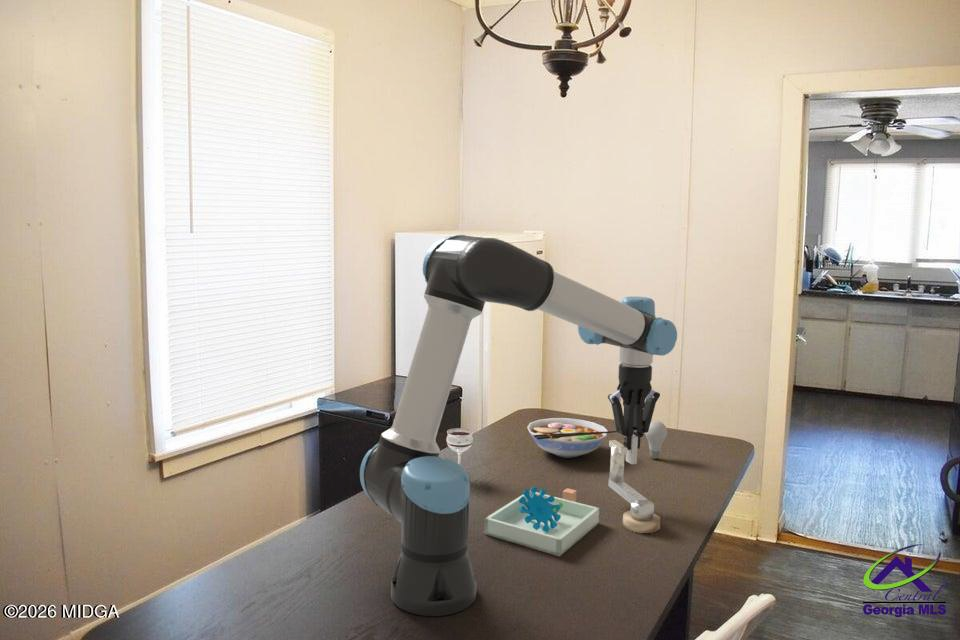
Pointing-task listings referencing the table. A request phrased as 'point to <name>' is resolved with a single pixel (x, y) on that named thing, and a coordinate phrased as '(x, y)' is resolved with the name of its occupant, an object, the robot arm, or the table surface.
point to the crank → (639, 504)
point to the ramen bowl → (567, 436)
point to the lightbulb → (656, 437)
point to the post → (569, 495)
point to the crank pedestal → (641, 524)
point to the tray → (556, 540)
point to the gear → (540, 509)
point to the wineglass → (459, 440)
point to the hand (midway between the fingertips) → (631, 462)
